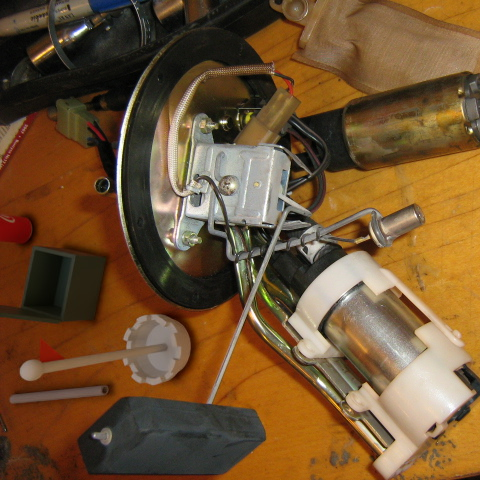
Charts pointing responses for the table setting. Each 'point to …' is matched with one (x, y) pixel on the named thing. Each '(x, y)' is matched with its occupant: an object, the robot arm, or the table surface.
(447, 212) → the table surface
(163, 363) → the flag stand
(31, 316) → the box lid
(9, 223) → the beverage can
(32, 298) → the dark green open box
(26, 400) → the metal rod
